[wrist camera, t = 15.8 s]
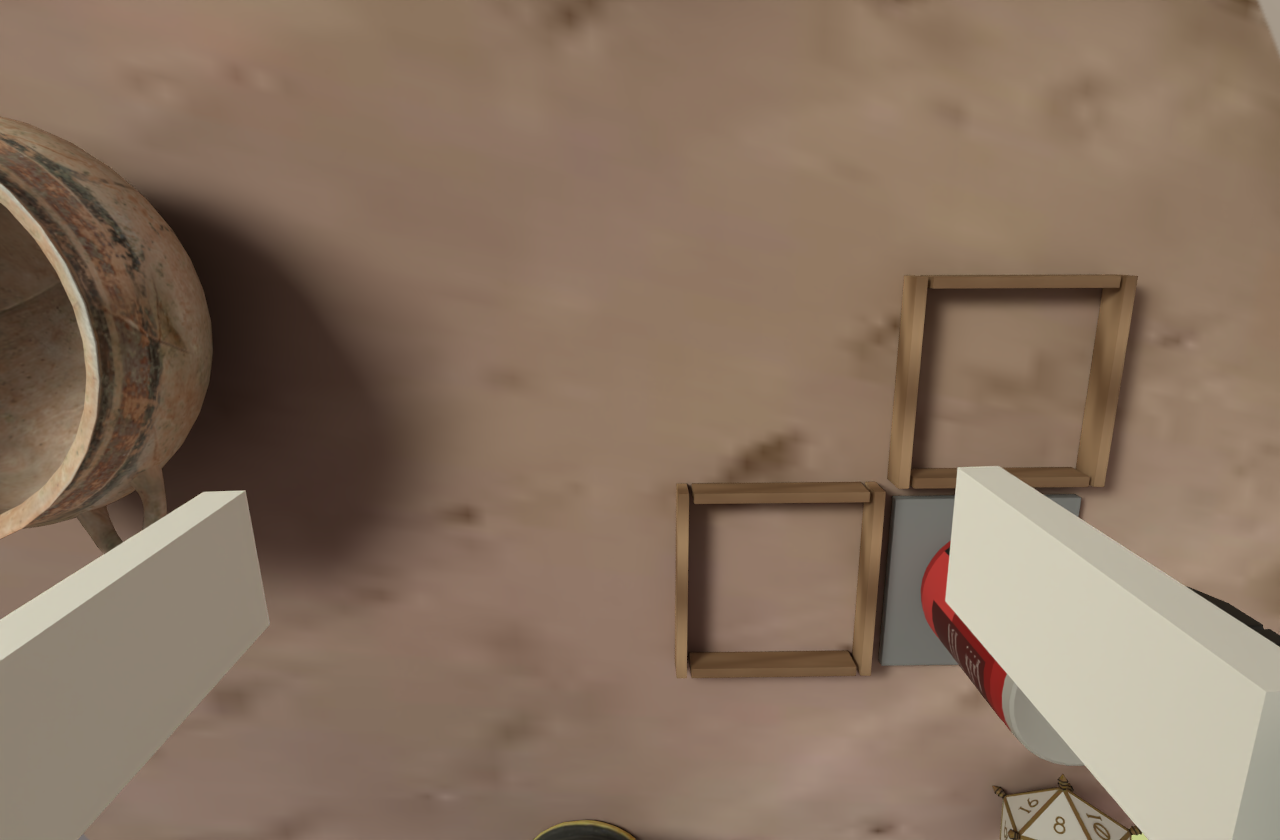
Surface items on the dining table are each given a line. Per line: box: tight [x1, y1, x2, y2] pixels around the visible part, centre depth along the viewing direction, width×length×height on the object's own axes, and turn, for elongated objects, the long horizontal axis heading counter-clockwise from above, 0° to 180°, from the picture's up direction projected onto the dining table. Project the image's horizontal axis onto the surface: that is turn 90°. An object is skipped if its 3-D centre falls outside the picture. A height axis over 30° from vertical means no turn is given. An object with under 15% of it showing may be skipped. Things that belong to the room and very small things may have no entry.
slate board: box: [878, 494, 1081, 666], centre depth 44 cm, size 11×11×1 cm
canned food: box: [921, 540, 1084, 766], centre depth 38 cm, size 8×8×11 cm
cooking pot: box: [0, 116, 213, 554], centre depth 34 cm, size 25×19×12 cm
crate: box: [675, 482, 886, 678], centre depth 43 cm, size 12×12×2 cm
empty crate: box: [887, 275, 1138, 489], centre depth 40 cm, size 12×12×2 cm
